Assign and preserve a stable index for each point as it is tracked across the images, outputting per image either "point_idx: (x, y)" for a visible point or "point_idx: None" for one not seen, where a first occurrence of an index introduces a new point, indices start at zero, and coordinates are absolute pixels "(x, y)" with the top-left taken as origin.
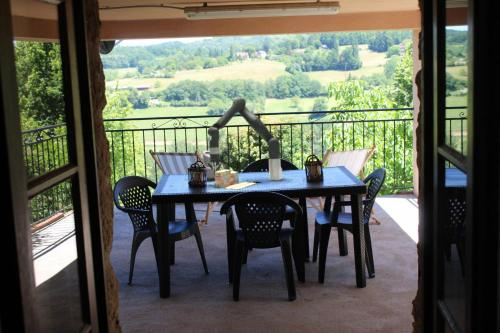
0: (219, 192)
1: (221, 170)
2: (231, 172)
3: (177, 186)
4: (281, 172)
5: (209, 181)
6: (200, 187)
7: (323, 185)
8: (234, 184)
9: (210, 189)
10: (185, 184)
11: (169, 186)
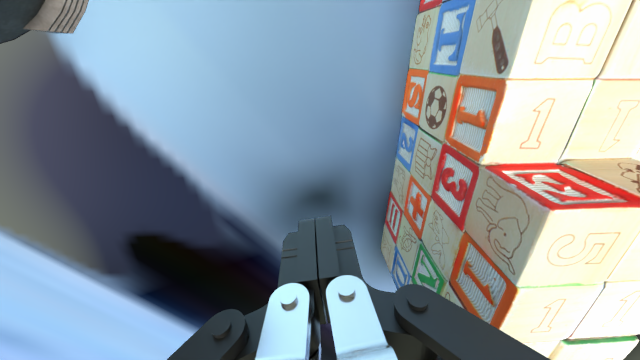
0: None
1: (519, 326)
2: (622, 19)
3: (56, 327)
4: None
5: (50, 28)
6: (264, 293)
7: None
8: None
9: None
10: (4, 255)
11: (3, 345)
